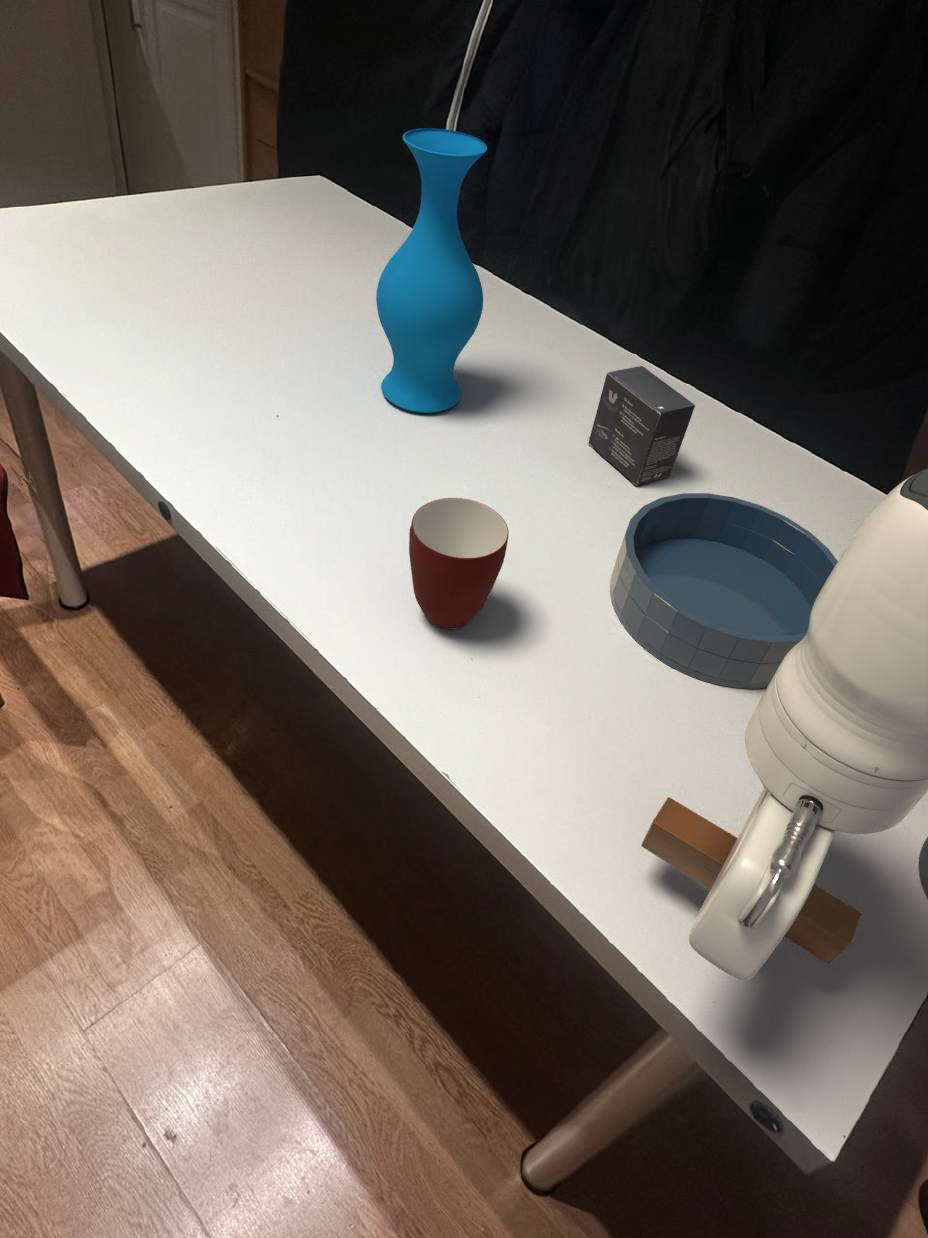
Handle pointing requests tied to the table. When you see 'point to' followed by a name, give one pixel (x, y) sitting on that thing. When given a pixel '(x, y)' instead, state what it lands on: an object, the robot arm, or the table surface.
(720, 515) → the bowl
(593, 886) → the table surface
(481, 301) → the vase
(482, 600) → the mug
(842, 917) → the stick
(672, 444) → the box
